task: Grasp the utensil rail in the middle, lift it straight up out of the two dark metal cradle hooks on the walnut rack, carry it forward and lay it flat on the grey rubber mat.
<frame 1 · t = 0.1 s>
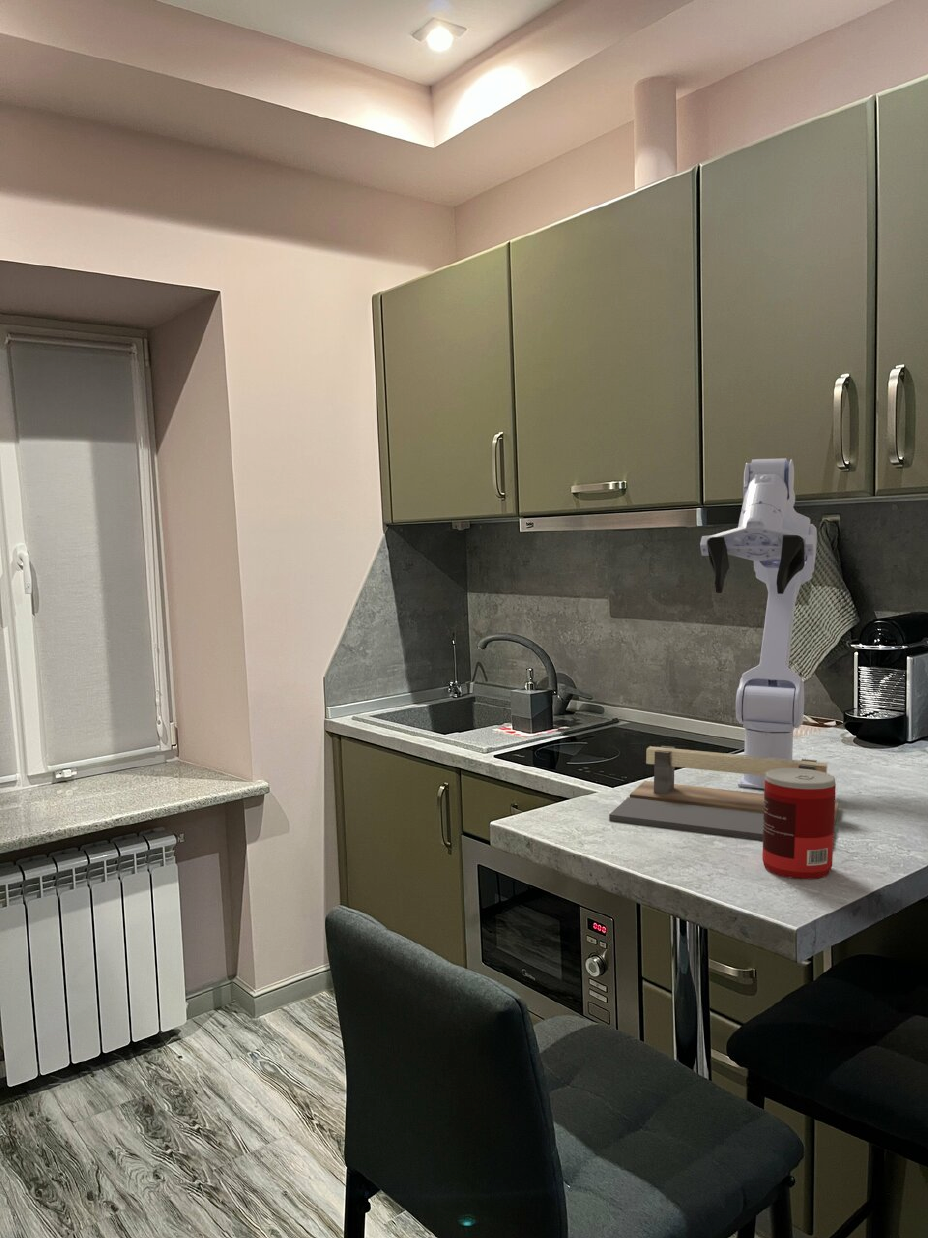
hand: (748, 587, 123), 32 cm above the countertop, tool tilted 50°, fingers open, 7 cm apart
rail: (733, 771, 138), point 5 cm above the countertop, touching rack
mat: (720, 824, 129), on the countertop
rack: (732, 805, 138), on the countertop
canned food: (796, 870, 111), on the countertop
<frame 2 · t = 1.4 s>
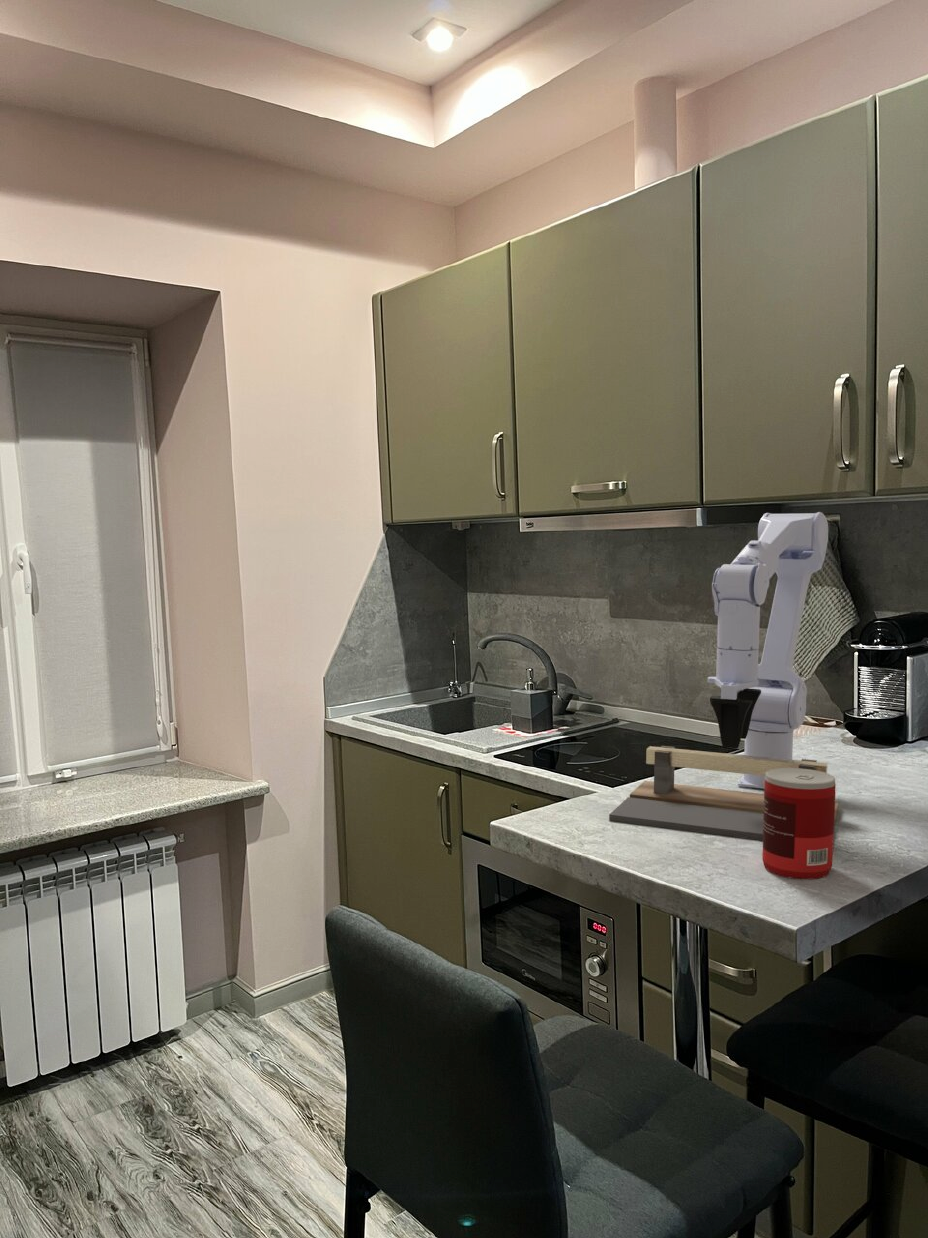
hand: (734, 742, 137), 9 cm above the countertop, tool pointing down, fingers open, 7 cm apart
nothing on the countertop moved.
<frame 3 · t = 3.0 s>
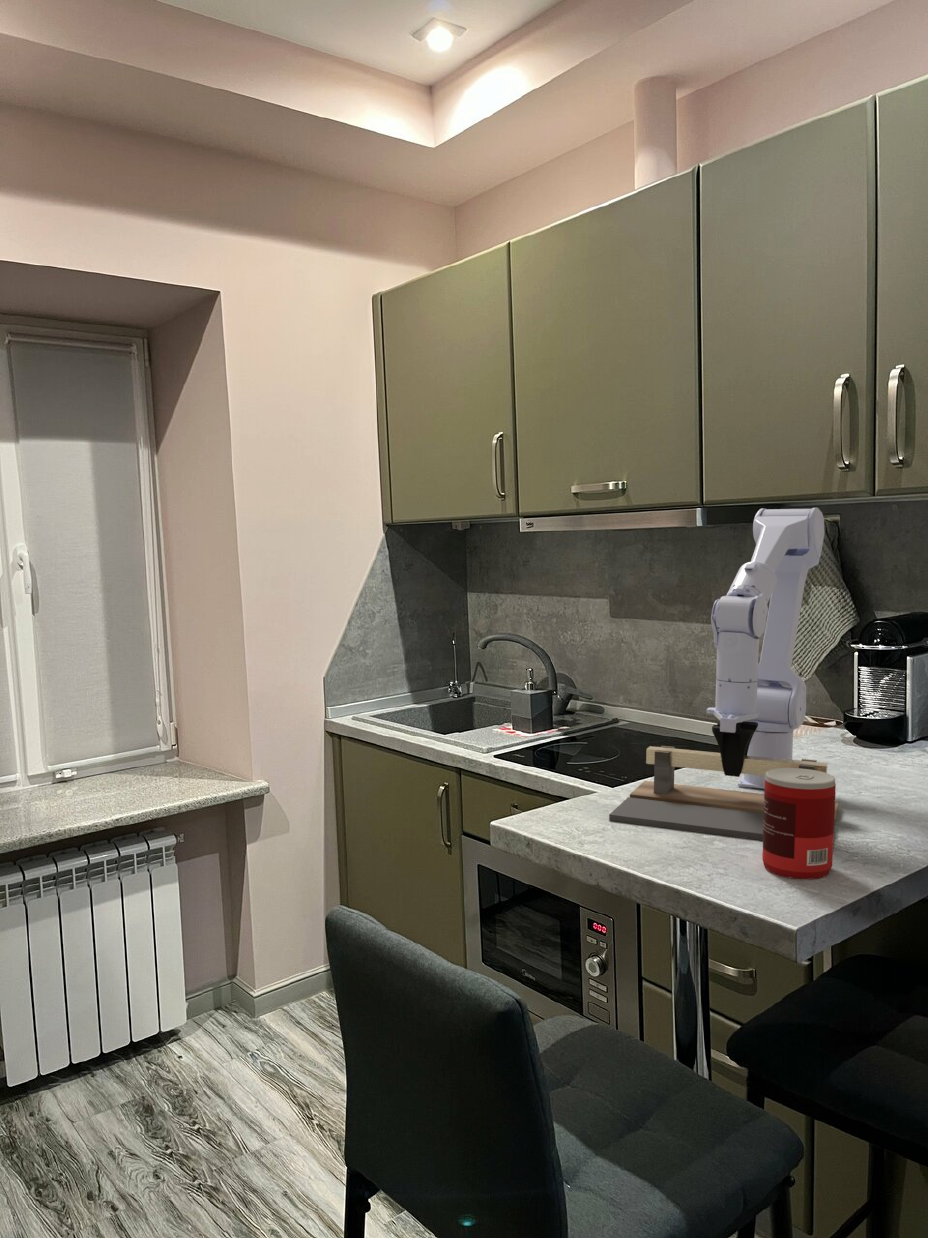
hand: (733, 773, 138), 5 cm above the countertop, tool pointing down, fingers closed on rail, 2 cm apart
rail: (733, 771, 138), point 5 cm above the countertop, touching gripper, rack
everything else where it was.
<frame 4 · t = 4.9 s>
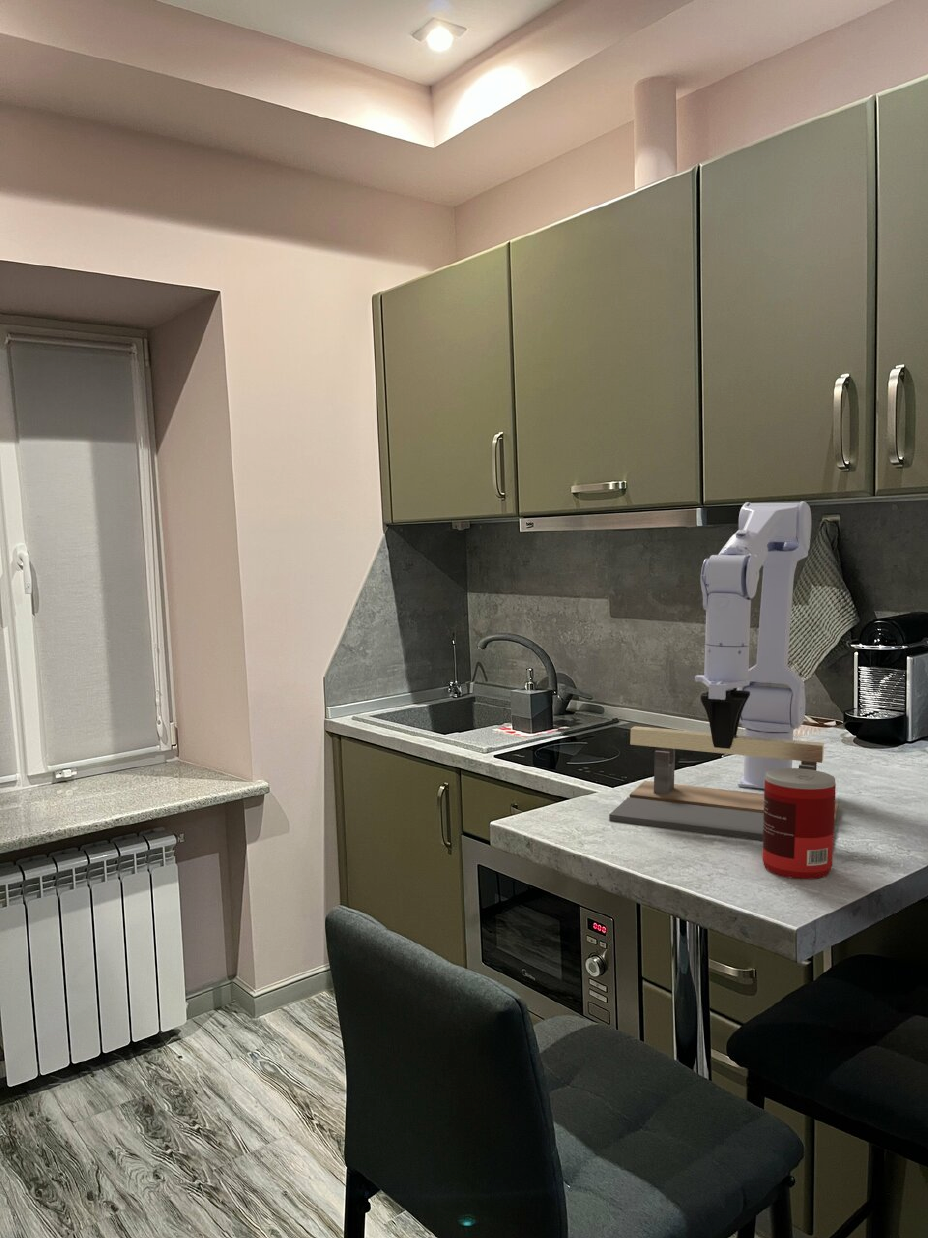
hand: (723, 745, 129), 10 cm above the countertop, tool pointing down, fingers closed on rail, 2 cm apart
rail: (723, 751, 129), point 10 cm above the countertop, touching gripper
everything else where it was.
when the fingers open (2 cm above the countertop, at t = 7.2 s): rail stays where it is, resting on mat.
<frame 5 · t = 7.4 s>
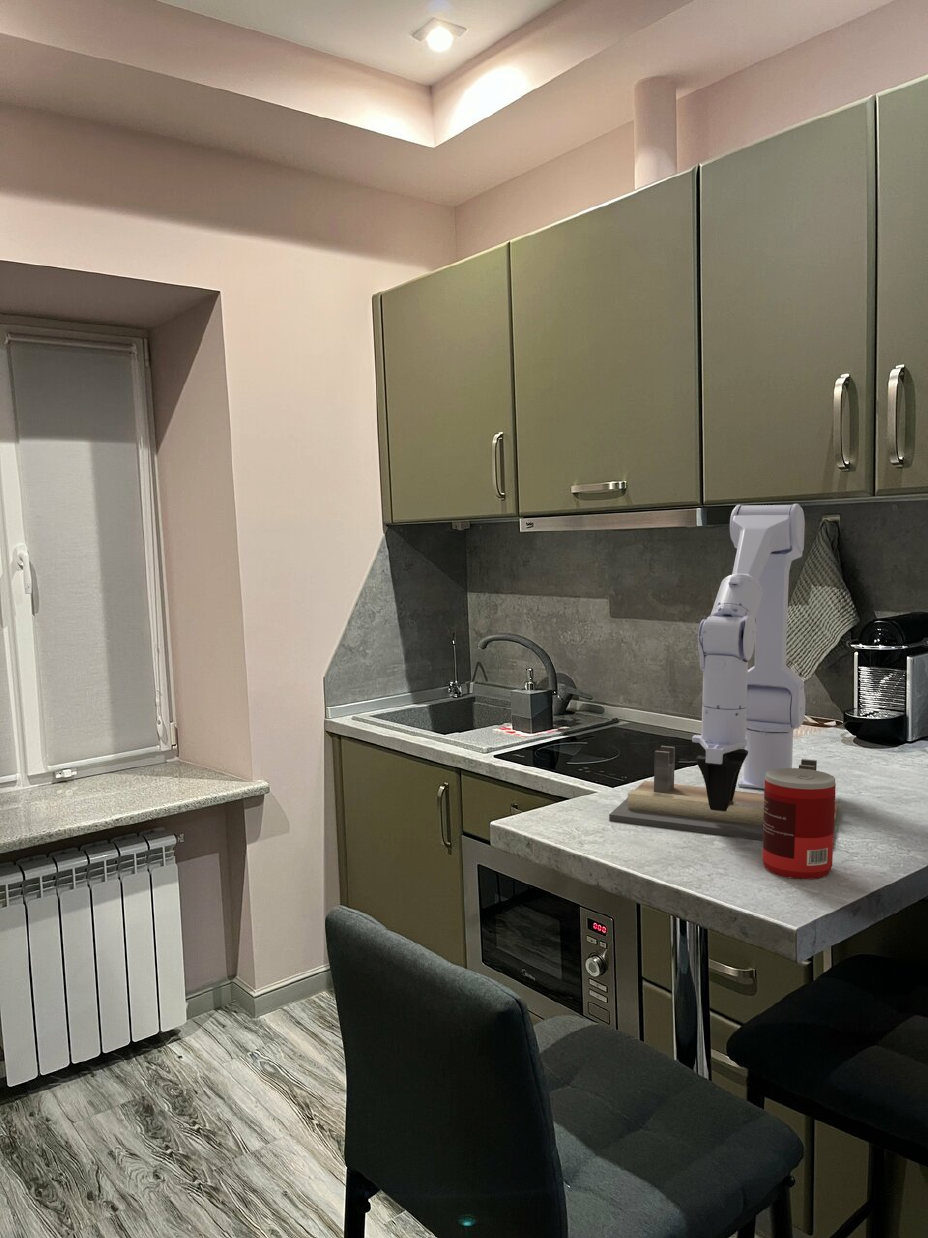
hand: (721, 806, 128), 2 cm above the countertop, tool pointing down, fingers open, 4 cm apart
rail: (720, 818, 129), point 1 cm above the countertop, touching mat
everything else where it was.
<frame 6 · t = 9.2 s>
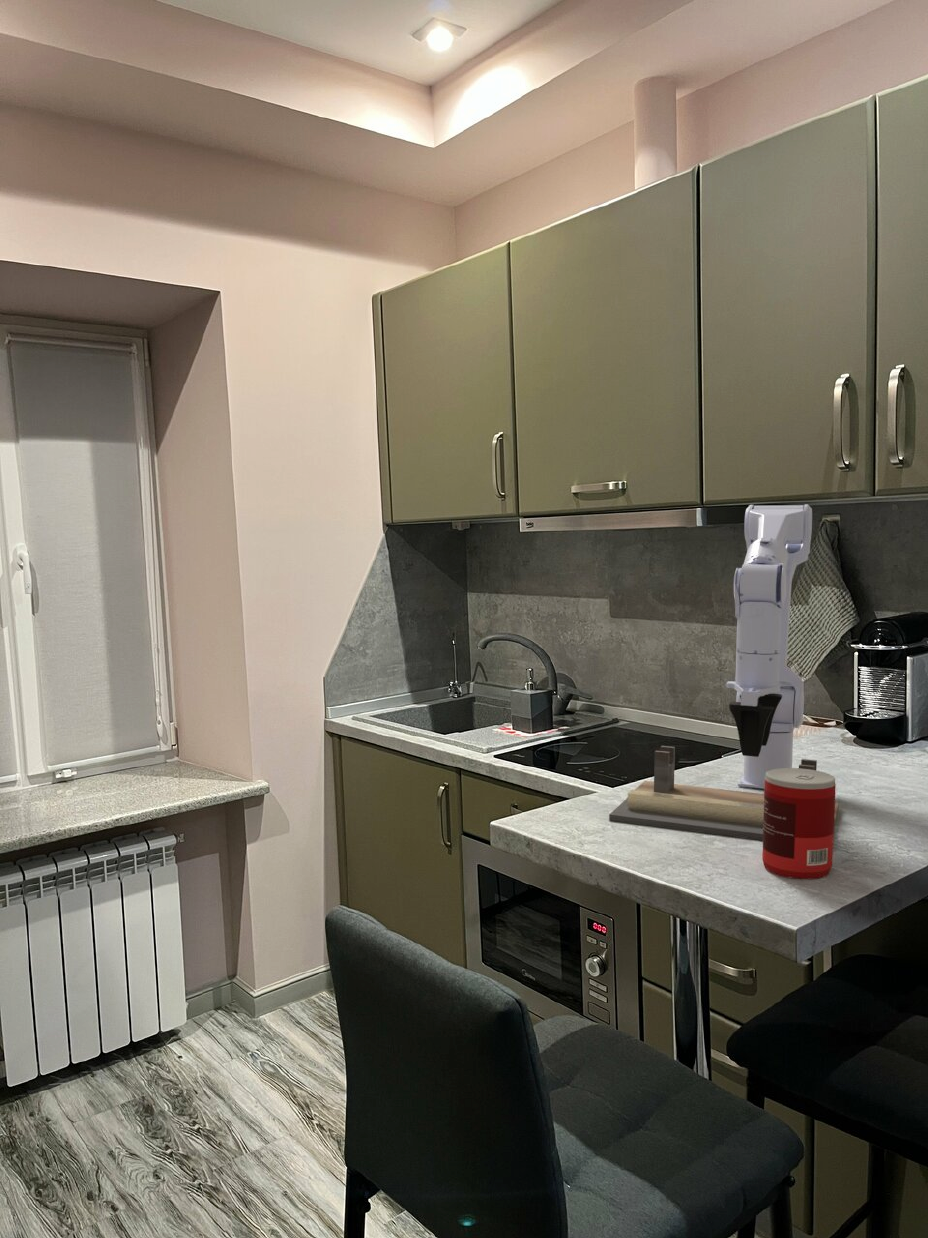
hand: (754, 750, 132), 9 cm above the countertop, tool pointing down, fingers open, 7 cm apart
nothing on the countertop moved.
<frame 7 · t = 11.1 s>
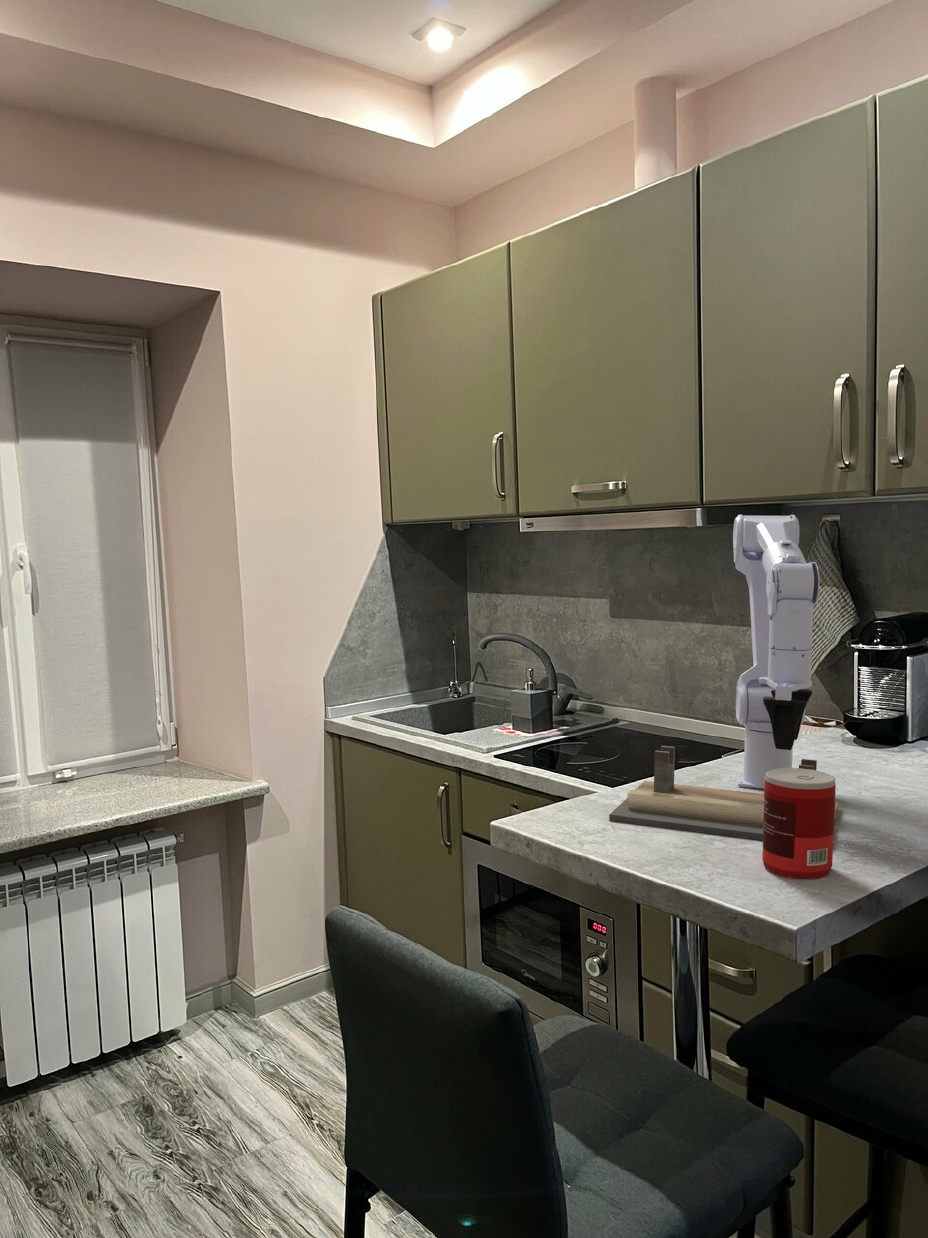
hand: (786, 744, 135), 9 cm above the countertop, tool pointing down, fingers open, 7 cm apart
nothing on the countertop moved.
at the end: rail inside the target area on the mat (0.0 cm from its centre), point 0.8 cm above the mat's base; rail touching mat; the gripper is holding nothing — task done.
